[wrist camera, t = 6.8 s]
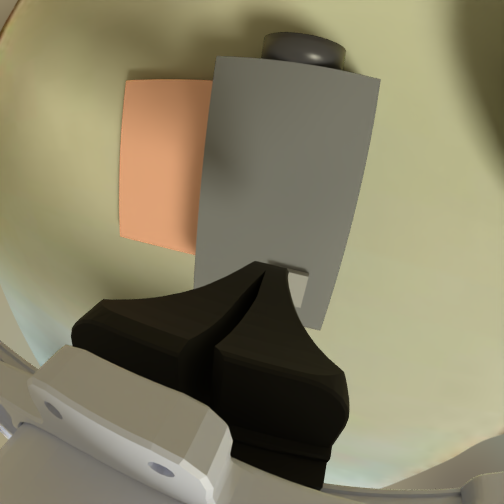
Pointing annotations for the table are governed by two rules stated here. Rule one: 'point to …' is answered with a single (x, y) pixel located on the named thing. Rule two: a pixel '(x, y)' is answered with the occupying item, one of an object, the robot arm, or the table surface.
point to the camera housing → (284, 165)
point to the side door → (162, 160)
